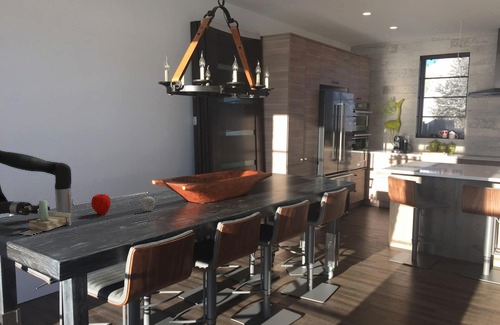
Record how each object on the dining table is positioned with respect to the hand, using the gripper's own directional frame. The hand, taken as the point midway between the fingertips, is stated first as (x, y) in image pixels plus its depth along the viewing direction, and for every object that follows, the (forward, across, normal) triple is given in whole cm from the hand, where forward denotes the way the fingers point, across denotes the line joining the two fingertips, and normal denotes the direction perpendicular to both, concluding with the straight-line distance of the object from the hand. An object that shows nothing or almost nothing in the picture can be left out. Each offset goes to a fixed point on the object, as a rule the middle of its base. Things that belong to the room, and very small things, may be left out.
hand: (43, 210), depth 225 cm
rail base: (0, -2, +10) cm, 11 cm away
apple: (+9, +37, +11) cm, 40 cm away
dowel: (0, 0, +9) cm, 9 cm away
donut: (+33, +53, +11) cm, 63 cm away
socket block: (0, +2, +10) cm, 11 cm away
